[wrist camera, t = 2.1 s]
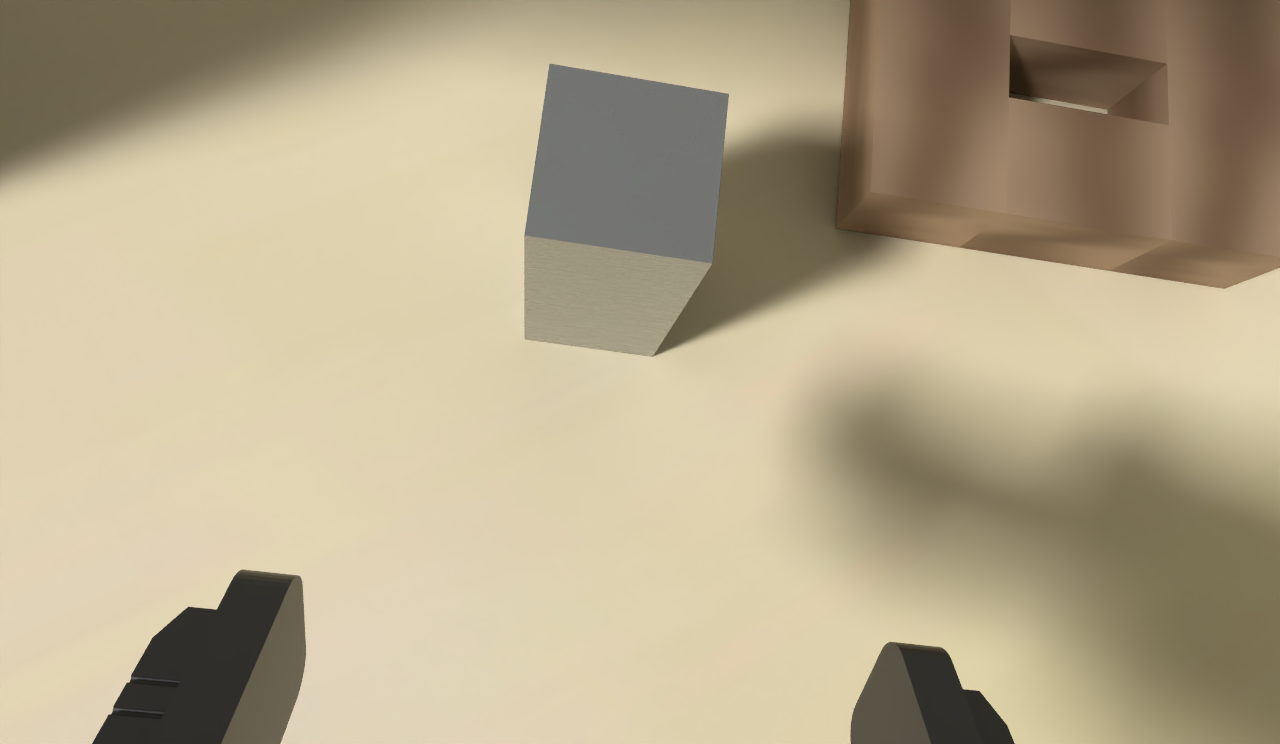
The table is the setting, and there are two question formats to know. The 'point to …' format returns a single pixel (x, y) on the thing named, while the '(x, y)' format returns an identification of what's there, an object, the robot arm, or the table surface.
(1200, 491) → the table surface
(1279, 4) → the plate
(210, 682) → the robot arm
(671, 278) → the square bit
